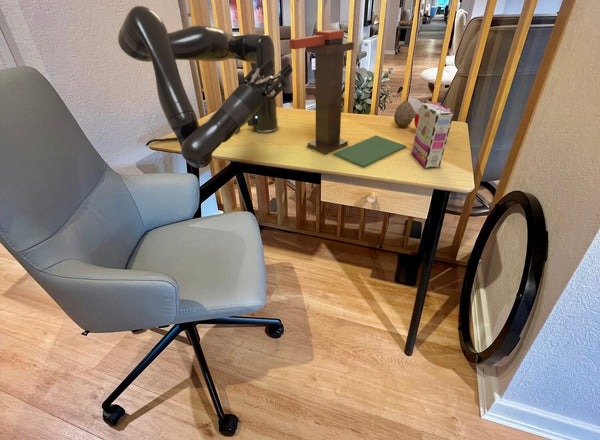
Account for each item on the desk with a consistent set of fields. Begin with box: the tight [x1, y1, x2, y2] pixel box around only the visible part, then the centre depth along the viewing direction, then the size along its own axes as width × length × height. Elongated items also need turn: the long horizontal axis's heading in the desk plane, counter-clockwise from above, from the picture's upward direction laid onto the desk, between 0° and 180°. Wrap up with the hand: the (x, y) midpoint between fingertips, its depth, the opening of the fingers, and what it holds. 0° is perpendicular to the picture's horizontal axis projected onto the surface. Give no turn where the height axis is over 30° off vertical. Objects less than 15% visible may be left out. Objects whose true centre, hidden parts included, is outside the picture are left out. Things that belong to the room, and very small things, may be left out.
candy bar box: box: [411, 102, 455, 169], centre depth 93 cm, size 11×5×16 cm, turn 5°
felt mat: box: [333, 135, 407, 168], centre depth 105 cm, size 22×13×1 cm, turn 130°
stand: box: [305, 40, 355, 156], centre depth 100 cm, size 11×9×32 cm
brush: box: [289, 29, 345, 50], centre depth 87 cm, size 17×6×3 cm, turn 130°
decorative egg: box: [393, 100, 415, 128], centre depth 119 cm, size 7×7×10 cm
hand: (280, 64), depth 83 cm, fingers open, 8 cm apart
